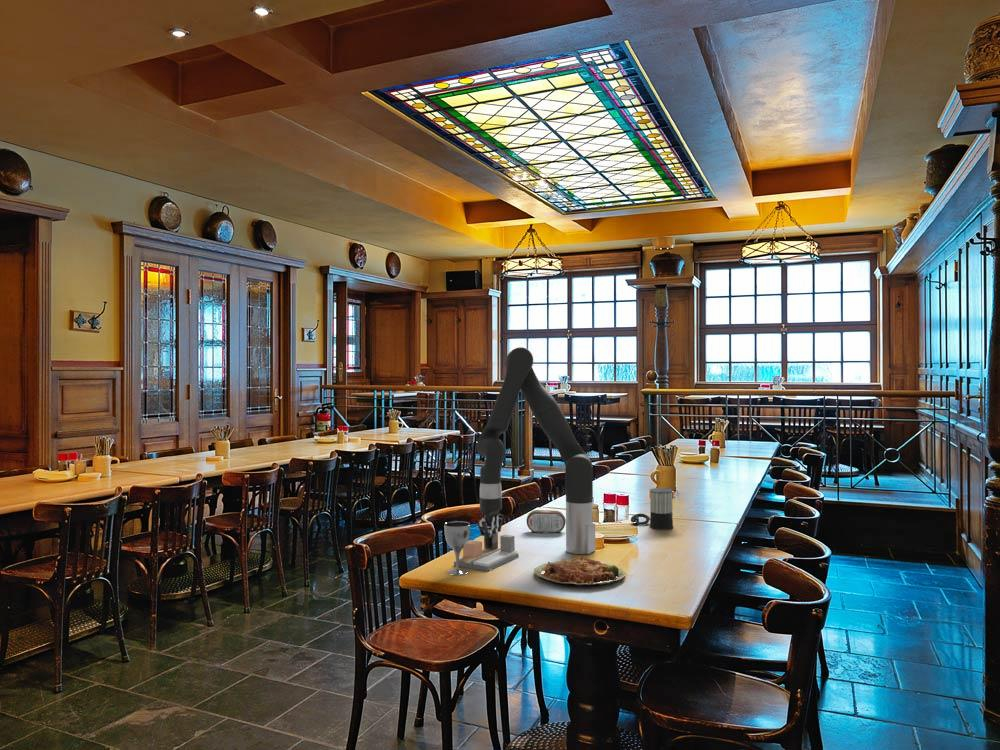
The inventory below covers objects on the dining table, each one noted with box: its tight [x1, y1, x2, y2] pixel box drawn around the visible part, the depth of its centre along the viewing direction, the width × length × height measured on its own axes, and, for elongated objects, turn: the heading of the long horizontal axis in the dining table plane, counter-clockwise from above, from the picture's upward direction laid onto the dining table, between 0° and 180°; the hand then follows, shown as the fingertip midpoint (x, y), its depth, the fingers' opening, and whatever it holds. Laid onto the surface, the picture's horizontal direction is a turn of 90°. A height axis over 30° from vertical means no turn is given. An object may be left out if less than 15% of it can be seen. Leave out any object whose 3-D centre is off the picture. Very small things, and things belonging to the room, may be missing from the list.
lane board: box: [453, 548, 519, 572], centre depth 227 cm, size 13×19×2 cm
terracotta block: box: [462, 539, 483, 559], centre depth 226 cm, size 4×4×4 cm
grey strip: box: [473, 534, 517, 567], centre depth 226 cm, size 6×18×6 cm, turn 149°
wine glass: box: [443, 520, 471, 576], centre depth 215 cm, size 8×8×15 cm
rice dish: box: [533, 556, 626, 586], centre depth 211 cm, size 28×28×5 cm
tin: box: [526, 509, 566, 533], centre depth 267 cm, size 15×3×8 cm, turn 84°
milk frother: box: [630, 487, 674, 530], centre depth 277 cm, size 14×16×15 cm
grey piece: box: [459, 531, 500, 564], centre depth 229 cm, size 6×18×6 cm, turn 149°
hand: (491, 546), depth 236 cm, fingers closed on grey piece, 2 cm apart
